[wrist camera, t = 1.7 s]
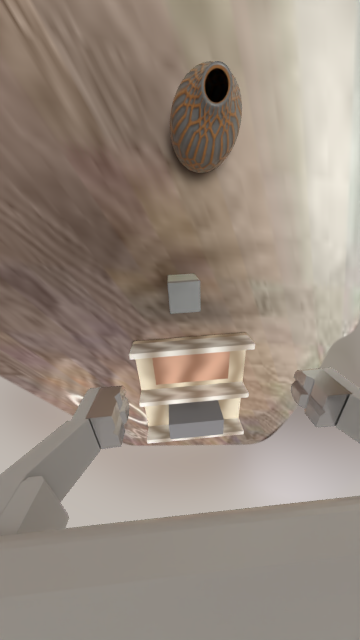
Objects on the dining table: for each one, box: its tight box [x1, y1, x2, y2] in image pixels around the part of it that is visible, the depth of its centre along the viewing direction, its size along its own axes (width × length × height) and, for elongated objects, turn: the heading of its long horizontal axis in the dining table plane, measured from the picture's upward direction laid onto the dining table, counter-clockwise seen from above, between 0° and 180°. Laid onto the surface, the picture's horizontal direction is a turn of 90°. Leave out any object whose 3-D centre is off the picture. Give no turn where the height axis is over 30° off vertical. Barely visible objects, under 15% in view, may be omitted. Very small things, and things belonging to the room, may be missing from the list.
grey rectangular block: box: [168, 274, 201, 314], centre depth 25 cm, size 4×4×6 cm
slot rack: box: [129, 332, 255, 443], centre depth 34 cm, size 20×22×4 cm
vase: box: [170, 61, 242, 173], centre depth 17 cm, size 7×7×9 cm
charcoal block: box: [169, 400, 224, 439], centre depth 35 cm, size 10×4×5 cm, turn 93°
